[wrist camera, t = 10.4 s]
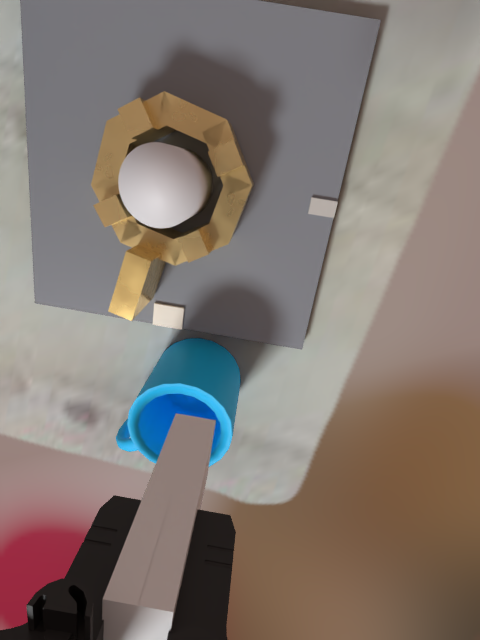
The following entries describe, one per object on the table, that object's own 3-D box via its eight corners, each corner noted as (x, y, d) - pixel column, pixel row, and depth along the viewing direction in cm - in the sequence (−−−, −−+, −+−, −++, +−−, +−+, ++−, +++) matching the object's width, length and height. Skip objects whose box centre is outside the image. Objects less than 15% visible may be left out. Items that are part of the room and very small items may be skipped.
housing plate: (42, 298, 35) (-15, 330, 28) (29, -30, 26) (-59, -102, 19) (301, 343, 35) (308, 386, 28) (376, 26, 26) (414, -27, 19)
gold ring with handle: (134, 80, 27) (102, 59, 22) (270, 142, 28) (270, 136, 22) (85, 269, 32) (50, 288, 27) (200, 316, 33) (187, 343, 28)
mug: (210, 322, 35) (192, 364, 27) (256, 390, 37) (252, 447, 29) (109, 379, 38) (69, 431, 30) (158, 439, 40) (131, 501, 32)
